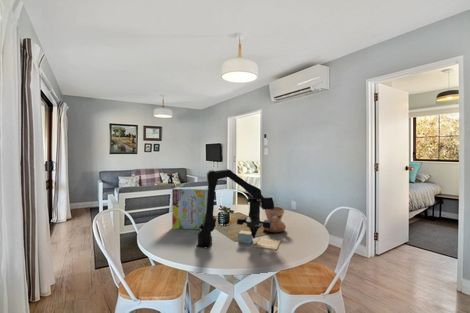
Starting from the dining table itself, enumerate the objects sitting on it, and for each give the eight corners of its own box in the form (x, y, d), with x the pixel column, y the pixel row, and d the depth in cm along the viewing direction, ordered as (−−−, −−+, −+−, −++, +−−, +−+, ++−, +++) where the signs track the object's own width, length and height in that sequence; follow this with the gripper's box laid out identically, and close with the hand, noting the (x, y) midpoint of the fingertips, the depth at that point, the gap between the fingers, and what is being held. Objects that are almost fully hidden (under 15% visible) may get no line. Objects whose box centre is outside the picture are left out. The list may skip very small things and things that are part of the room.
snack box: (207, 226, 161) (208, 187, 161) (204, 230, 153) (205, 189, 152) (176, 224, 164) (176, 186, 163) (171, 228, 155) (171, 188, 154)
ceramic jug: (286, 236, 145) (287, 212, 145) (262, 234, 147) (262, 210, 147) (284, 227, 163) (285, 206, 163) (262, 225, 165) (263, 204, 165)
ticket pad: (253, 246, 128) (253, 245, 128) (259, 238, 140) (259, 237, 140) (276, 250, 124) (276, 248, 124) (280, 241, 136) (280, 240, 136)
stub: (238, 241, 135) (238, 233, 135) (240, 238, 140) (240, 230, 140) (250, 243, 133) (250, 234, 133) (252, 240, 137) (252, 231, 137)
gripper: (233, 211, 130) (233, 240, 130) (268, 215, 123) (267, 245, 124) (240, 206, 140) (239, 233, 140) (272, 210, 134) (271, 238, 134)
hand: (254, 237), depth 134 cm, fingers closed
